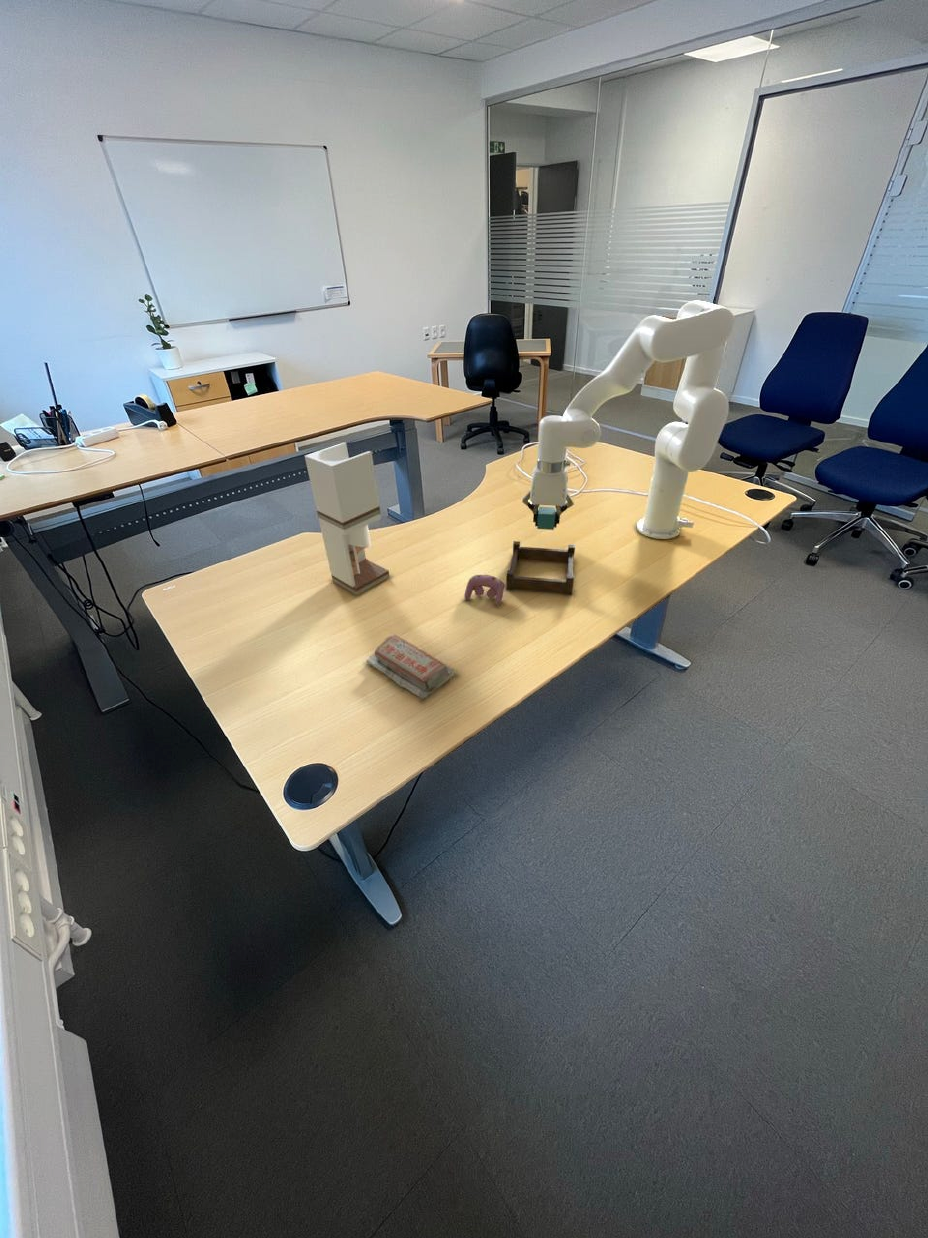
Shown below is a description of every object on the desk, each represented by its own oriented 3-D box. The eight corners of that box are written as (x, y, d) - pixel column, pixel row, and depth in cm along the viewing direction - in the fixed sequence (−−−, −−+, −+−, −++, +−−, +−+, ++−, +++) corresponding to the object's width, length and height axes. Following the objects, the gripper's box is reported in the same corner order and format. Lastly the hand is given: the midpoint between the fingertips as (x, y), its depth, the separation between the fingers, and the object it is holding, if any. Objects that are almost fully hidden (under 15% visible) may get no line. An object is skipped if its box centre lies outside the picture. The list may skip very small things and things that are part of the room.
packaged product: (455, 659, 108) (421, 685, 102) (456, 675, 111) (423, 702, 105) (396, 624, 118) (362, 647, 112) (399, 641, 121) (366, 663, 115)
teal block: (554, 522, 153) (555, 507, 150) (553, 530, 149) (555, 514, 146) (538, 521, 154) (539, 506, 151) (537, 528, 150) (538, 513, 147)
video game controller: (503, 604, 134) (507, 577, 132) (499, 606, 129) (503, 579, 128) (467, 597, 136) (470, 571, 135) (462, 600, 132) (465, 573, 130)
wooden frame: (573, 560, 146) (575, 544, 143) (571, 594, 133) (573, 578, 130) (513, 556, 149) (513, 541, 146) (506, 589, 136) (506, 573, 133)
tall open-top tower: (356, 595, 136) (331, 466, 115) (332, 580, 142) (304, 455, 121) (389, 576, 143) (371, 451, 121) (365, 563, 148) (344, 442, 127)
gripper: (582, 460, 142) (575, 520, 153) (520, 458, 145) (518, 517, 156) (582, 471, 136) (575, 533, 147) (518, 468, 139) (515, 529, 150)
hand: (546, 524), depth 151 cm, fingers closed on teal block, 4 cm apart
